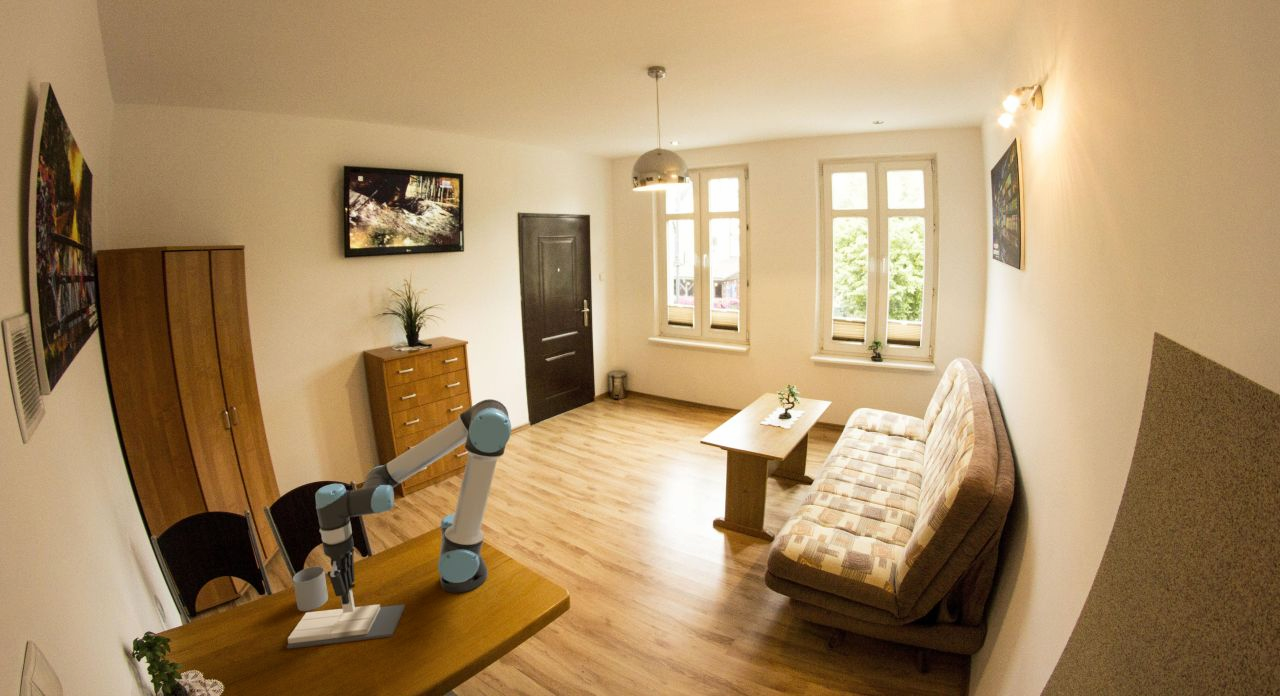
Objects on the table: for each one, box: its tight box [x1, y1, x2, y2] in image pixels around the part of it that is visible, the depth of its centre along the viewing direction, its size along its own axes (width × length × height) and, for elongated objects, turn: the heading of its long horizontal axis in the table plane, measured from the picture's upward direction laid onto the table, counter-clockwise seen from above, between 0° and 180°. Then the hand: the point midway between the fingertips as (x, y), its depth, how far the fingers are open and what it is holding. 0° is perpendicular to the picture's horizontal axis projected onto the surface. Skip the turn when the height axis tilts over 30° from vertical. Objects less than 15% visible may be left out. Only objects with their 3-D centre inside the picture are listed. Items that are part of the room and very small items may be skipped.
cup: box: [292, 565, 329, 612], centre depth 166 cm, size 8×8×10 cm
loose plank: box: [330, 603, 381, 638], centre depth 155 cm, size 10×11×2 cm
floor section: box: [286, 604, 406, 650], centre depth 155 cm, size 28×13×2 cm, turn 98°
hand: (349, 610), depth 154 cm, fingers closed
